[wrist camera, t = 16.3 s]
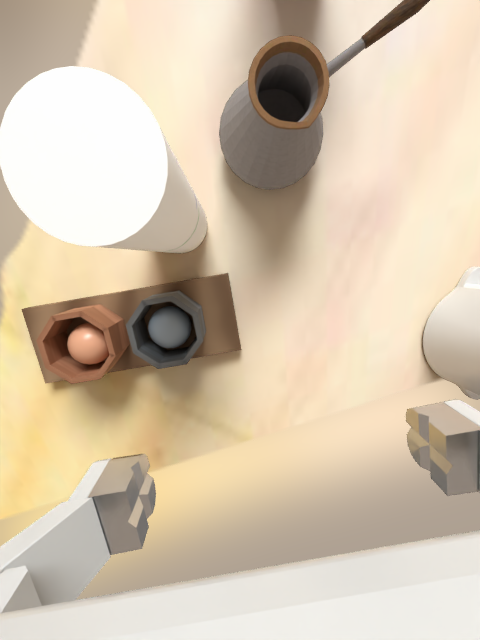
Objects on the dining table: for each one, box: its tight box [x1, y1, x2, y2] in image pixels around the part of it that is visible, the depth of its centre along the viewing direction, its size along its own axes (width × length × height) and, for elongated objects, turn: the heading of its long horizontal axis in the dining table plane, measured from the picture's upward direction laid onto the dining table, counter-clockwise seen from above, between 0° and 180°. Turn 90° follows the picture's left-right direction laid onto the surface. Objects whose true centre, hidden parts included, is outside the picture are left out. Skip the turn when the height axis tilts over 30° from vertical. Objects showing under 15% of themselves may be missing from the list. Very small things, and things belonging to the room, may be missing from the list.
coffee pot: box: [219, 0, 430, 190], centre depth 28 cm, size 21×12×15 cm, turn 120°
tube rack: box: [22, 273, 241, 384], centre depth 37 cm, size 26×10×6 cm, turn 100°
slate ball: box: [148, 306, 191, 348], centre depth 36 cm, size 5×5×5 cm
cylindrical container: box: [0, 66, 207, 253], centre depth 25 cm, size 7×7×25 cm
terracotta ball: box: [67, 322, 110, 364], centre depth 36 cm, size 5×5×5 cm
